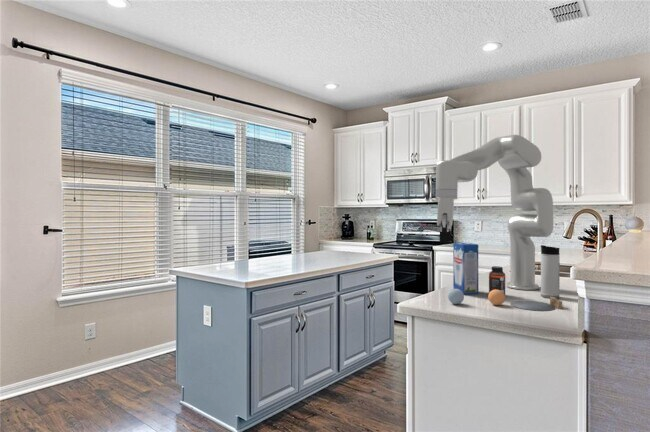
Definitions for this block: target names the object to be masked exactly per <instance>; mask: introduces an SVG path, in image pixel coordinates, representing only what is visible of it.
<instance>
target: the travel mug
mask: <svg viewBox="0 0 650 432" xmlns="http://www.w3.org/2000/svg"><path fill="white" fill-rule="evenodd" d="M560 261H561V259H560V247H556V246H555V247H554V246H549V245H547V246H546V245H544V244H543V245H542V244H541V245H540V297H542V298H544V299H550V297H554V298H556V299H559V298H560V274H561V273H560V267H561V266H560Z"/></svg>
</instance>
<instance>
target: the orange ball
mask: <svg viewBox="0 0 650 432" xmlns="http://www.w3.org/2000/svg"><path fill="white" fill-rule="evenodd" d="M505 300H506V294H505V295H504V293H503V292H502V291H500V290H492V291H491V292H490V293H489V292H488V301H489V303H490V304H492V305H494V306H501V305H502V304H504V302H505Z"/></svg>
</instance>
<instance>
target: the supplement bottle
mask: <svg viewBox="0 0 650 432" xmlns="http://www.w3.org/2000/svg"><path fill="white" fill-rule="evenodd" d="M492 290H500V291H502V292H503V293H504V295H505V296H506V273H505V272H504V271H503V266H494V265H493V266H491V271H490V272H489V273H488V294H489V293H490V292H491V291H492Z"/></svg>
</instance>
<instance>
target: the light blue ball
mask: <svg viewBox="0 0 650 432" xmlns="http://www.w3.org/2000/svg"><path fill="white" fill-rule="evenodd" d="M447 294H448V295H447V298H448V300H449V302H450V303H451V304H453V305H460V304H461V303H462V302H463V301H464V299H465V295H464V294H463V292H462V291H461V290H459V289H450V291H449V292H448V293H447Z"/></svg>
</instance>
